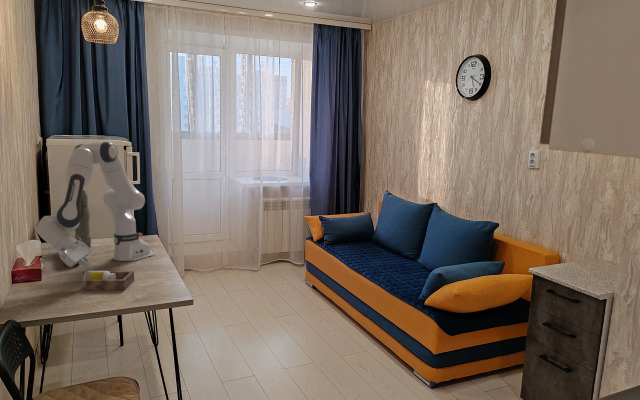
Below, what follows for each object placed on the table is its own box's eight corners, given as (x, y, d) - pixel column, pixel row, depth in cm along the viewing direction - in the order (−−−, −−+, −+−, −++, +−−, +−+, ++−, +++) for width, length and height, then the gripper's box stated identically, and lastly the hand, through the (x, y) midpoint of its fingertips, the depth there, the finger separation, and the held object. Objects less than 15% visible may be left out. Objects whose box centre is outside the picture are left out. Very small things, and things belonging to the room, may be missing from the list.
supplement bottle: (83, 286, 220) (111, 287, 220) (82, 272, 219) (111, 272, 220) (89, 282, 226) (117, 283, 227) (89, 269, 226) (116, 269, 226)
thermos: (90, 244, 298) (87, 189, 292) (91, 249, 287) (88, 191, 282) (74, 246, 294) (71, 189, 288) (75, 250, 283) (72, 192, 278)
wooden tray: (85, 290, 217) (85, 280, 217) (97, 280, 231) (96, 271, 230) (125, 290, 219) (124, 280, 218) (134, 280, 233) (134, 271, 232)
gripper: (61, 246, 210) (85, 267, 212) (80, 235, 230) (102, 255, 232) (51, 256, 210) (75, 277, 213) (71, 244, 230) (93, 264, 233)
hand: (89, 266), depth 223 cm, fingers closed
